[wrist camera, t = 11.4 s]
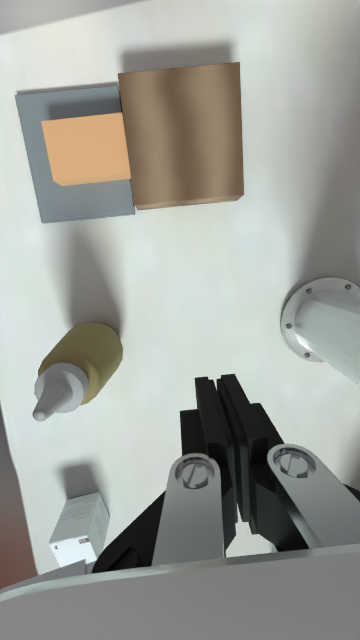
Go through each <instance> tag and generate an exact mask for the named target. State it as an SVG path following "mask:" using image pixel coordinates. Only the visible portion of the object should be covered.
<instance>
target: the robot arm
mask: <svg viewBox="0 0 360 640" xmlns="http://www.w3.org/2000/svg"><path fill="white" fill-rule="evenodd" d="M306 289H307V291H306ZM287 323H288V325H287V326H286V324H287ZM281 330H282V335H283V338H284V341H285V343H286V344H287V346H288V347H289V348H290V349H291V350H292V351H293V352H294V353H295V354H296V355H298V356H299V357H301V358H303V359H305V360H307V361H311V362H318V363H323V362H326V363H328V364H329V365H331V366H332V367H333V368H335V369H336V370H338V371H339V372H341V373H342V374H344V375H345V376H346V377H348V378H349V379H351V380H352V381H354V382H355V383H357V384H358V385H359V386H360V288H359V287H358V286H356V285H355V284H354V283H352V282H350V281H347V280H345V279H340V278H332V277H327V278H320V279H316V280H313V281H311V282H309V283H307V284H305V285H303V286H302V287H301V288H299V289H298V290H297V291H296V292H295V293H294V294H293V295H292V296H291V298H290V299H289V301H288V302H287V304H286V306H285V308H284V310H283V314H282V318H281ZM195 388H196V399H197V409H194V410H184V411H180V422H181V441H182V457H180V458H179V459H177V460H176V461H175V462H174V464H173V465H172V467H171V469H170V472H169V477H168V483H167V488H166V490H165V491H164V492H163V493H162V494H161V495H160V496H159V497H158V498H157V499H156V500H155V501H154V502H153V503H152V504H151V505H150V506H149V507H148V508H147V509H146V510H145V511H144V512H143V513H141V514H140V515H139V516H138V517H137V518H136V519H135V520H134V521H133V522H132V523H131V524H130V525H129V526H128V527H127V528H126V529H125V530H124V531H123V532H122V533H121V534H120V535H119V536H118V537H116V538H115V539H114V540H113V541H112V542H111V543H110V544H109V545H108V546H107V547H106V548H105V549H104V551H103V552H102V553H101V554H100V555H99V557H98V559H97V560H96V561H93V562H91V563H88V564H87V563H86V559H84V560H81V561H78V562H75V563H72V564H70V565H67V566H64V567H61V568H58V569H56V570H53V571H50V572H47V573H45V574H42V575H39V576H36V577H34V578H31V579H28V580H25V581H22V582H19V583H17V584H14V585H11V586H8V587H5V588H3V589H1V590H0V640H360V491H358V490H356V489H354V488H351V487H349V486H347V485H345V484H343V483H341V482H340V480H339V479H338V478H337V477H336V476H335V475H334V474H333V473H332V472H331V471H330V470H329V469H328V468H327V467H326V466H325V465H324V463H323V462H322V461H321V460H320V459H319V458H318V457H317V456H316V455H315V454H313V453H312V452H311V451H310V450H308V449H306V448H304V447H301V446H298V445H295V444H284V442H283V440H282V439H281V437H280V435H279V434H278V432H277V430H276V428H275V427H274V425H273V423H272V422H271V420H270V418H269V417H268V415H267V413H266V412H265V410H264V408H263V407H262V405H261V404H260V403H253V404H250V402H249V400H248V399H247V397H246V395H245V393H244V391H243V389H242V387H241V385H240V383H239V382H238V380H237V378H236V376H235V374H228V375H221V379H217V390H216V387H215V384H214V381H213V380H208V377H198V378H195ZM237 504H238V508H239V511H240V515H241V519H242V522H249V526H250V529H251V533H252V535H253V534H260V535H261V536H263V537H264V538H265V539H267V540H268V541H269V548H270V551H271V553H266V554H257V555H248V556H238V557H229V558H226V549H227V548H228V546H229V545H230V543H231V542H232V540H233V539H234V537H235V536H236V529H235V523H238V516H237Z"/></svg>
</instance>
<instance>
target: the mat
mask: <svg viewBox="0 0 360 640" xmlns="http://www.w3.org/2000/svg"><path fill="white" fill-rule="evenodd" d="M15 99H16V104H17V108H18V113H19V118H20V123H21V127H22V132H23V137H24V141H25V146H26V151H27V156H28V160H29V165H30V170H31V175H32V179H33V184H34V189H35V193H36V198H37V203H38V208H39V212H40V217H41V222H42V223H53V222H63V221H73V220H84V219H94V218H104V217H115V216H125V215H135V211H134V203H133V195H132V187H131V179H124V180H115V181H106V182H97V183H88V184H78V185H69V186H61V185H59V184H58V183H56V182H54V181H53V177H52V172H51V167H50V162H49V158H48V153H47V148H46V143H45V138H44V133H43V128H42V124H41V121H49V120H58V119H67V118H76V117H85V116H94V115H104V114H113V113H122V109H121V102H120V94H119V88H118V86H109V87H98V88H88V89H77V90H66V91H56V92H45V93H34V94H24V95H15Z"/></svg>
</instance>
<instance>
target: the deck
mask: <svg viewBox="0 0 360 640" xmlns="http://www.w3.org/2000/svg"><path fill="white" fill-rule="evenodd" d="M118 79H119V87H120V95H121V103H122V111H123V118H124V126H125V134H126V142H127V150H128V157H129V165H130V173H131V181H132V189H133V197H134V204H135V206H136V208H137V209H138V210H144V209H155V208H165V207H175V206H186V205H196V204H206V203H217V202H227V201H237V200H238V199H239V198H240V197H242V196H243V195H244V180H243V149H242V118H241V87H240V62H236V63H225V64H214V65H203V66H193V67H182V68H171V69H161V70H150V71H139V72H128V73H118Z"/></svg>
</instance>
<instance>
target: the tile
mask: <svg viewBox="0 0 360 640" xmlns="http://www.w3.org/2000/svg"><path fill="white" fill-rule="evenodd" d="M41 124H42V128H43V133H44V138H45V143H46V148H47V153H48V158H49V162H50V167H51V172H52V177H53V181H54V182H56V183H58V184H59V185H61V186H69V185H78V184H88V183H97V182H106V181H115V180H124V179H131V173H130V165H129V157H128V150H127V142H126V134H125V126H124V118H123V114H122V113H113V114H104V115H94V116H85V117H76V118H67V119H58V120H49V121H41Z"/></svg>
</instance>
